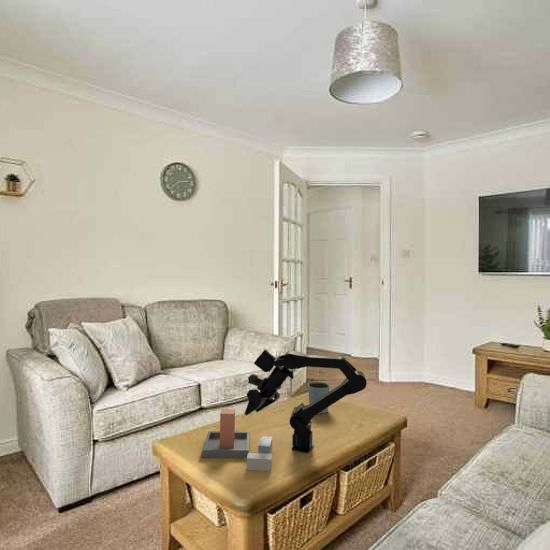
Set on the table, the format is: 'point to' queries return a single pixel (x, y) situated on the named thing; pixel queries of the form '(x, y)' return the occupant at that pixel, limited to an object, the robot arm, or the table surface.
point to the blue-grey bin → (317, 392)
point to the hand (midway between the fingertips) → (250, 412)
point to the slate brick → (265, 445)
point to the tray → (214, 450)
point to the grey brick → (259, 461)
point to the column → (227, 428)
